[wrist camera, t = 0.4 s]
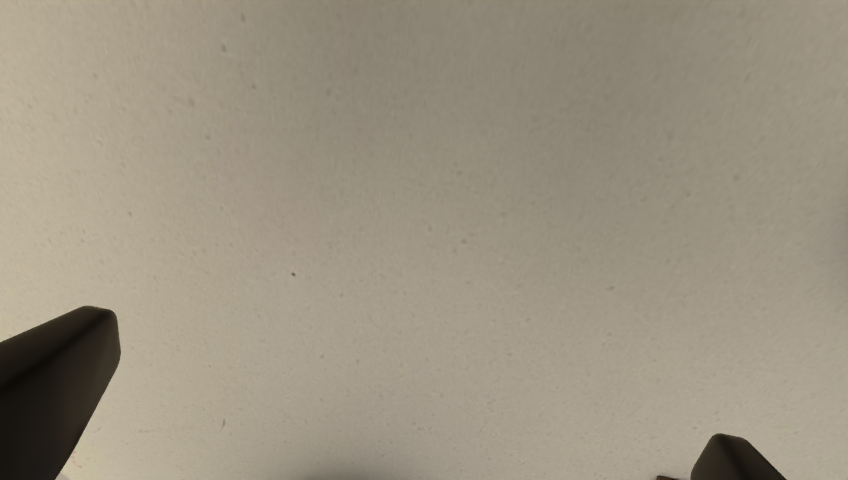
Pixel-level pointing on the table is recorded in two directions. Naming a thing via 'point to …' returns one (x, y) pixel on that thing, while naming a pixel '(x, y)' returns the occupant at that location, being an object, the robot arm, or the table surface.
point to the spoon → (662, 479)
